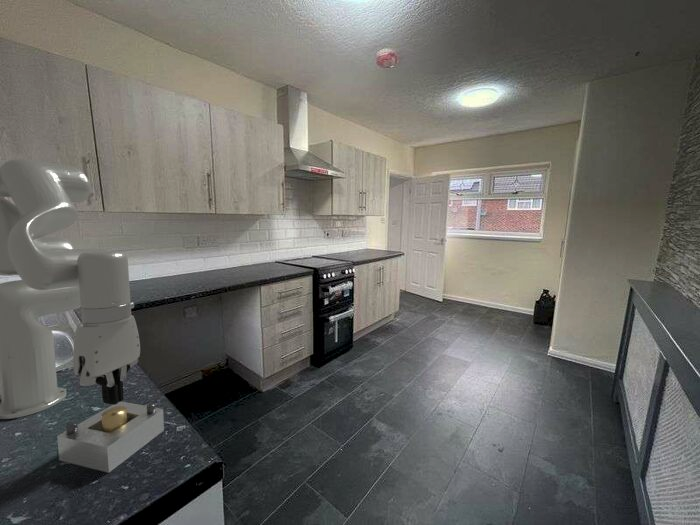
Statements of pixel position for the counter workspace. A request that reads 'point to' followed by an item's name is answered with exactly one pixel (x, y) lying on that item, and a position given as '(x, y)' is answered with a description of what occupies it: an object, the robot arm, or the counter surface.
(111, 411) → the brass cylinder
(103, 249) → the robot arm
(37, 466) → the counter surface
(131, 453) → the jig
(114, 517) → the counter surface
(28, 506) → the counter surface
